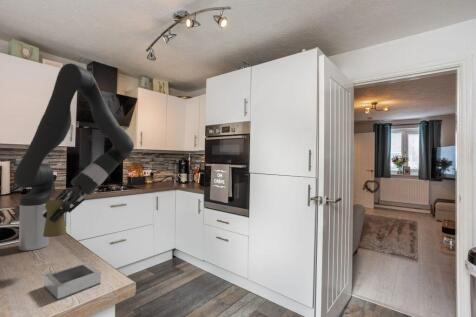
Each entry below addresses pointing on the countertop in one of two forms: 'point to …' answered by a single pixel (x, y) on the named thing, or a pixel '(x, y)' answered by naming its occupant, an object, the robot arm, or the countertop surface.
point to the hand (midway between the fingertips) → (48, 219)
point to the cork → (54, 227)
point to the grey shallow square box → (71, 280)
